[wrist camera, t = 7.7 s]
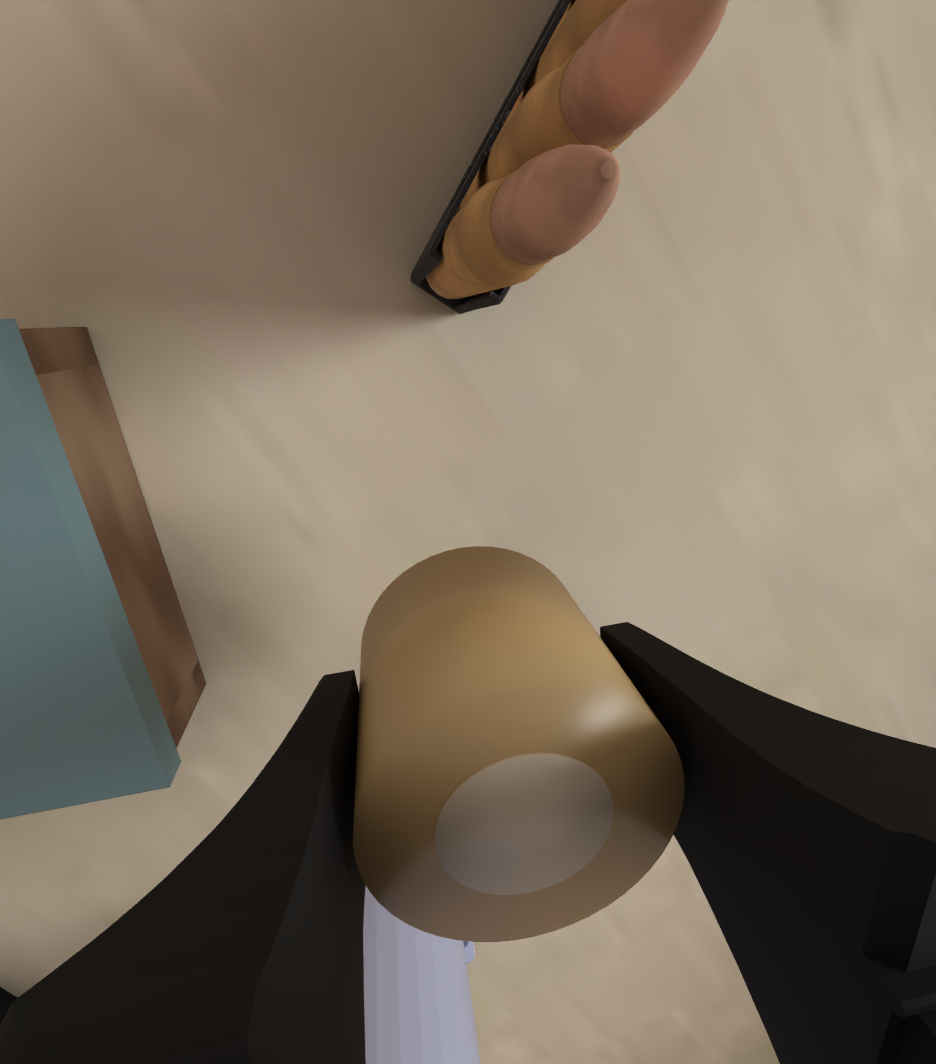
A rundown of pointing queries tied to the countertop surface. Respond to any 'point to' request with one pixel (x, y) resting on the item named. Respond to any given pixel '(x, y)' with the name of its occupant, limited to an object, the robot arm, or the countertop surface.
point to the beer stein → (5, 1002)
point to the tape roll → (501, 754)
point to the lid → (62, 628)
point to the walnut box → (118, 514)
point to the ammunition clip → (560, 142)
